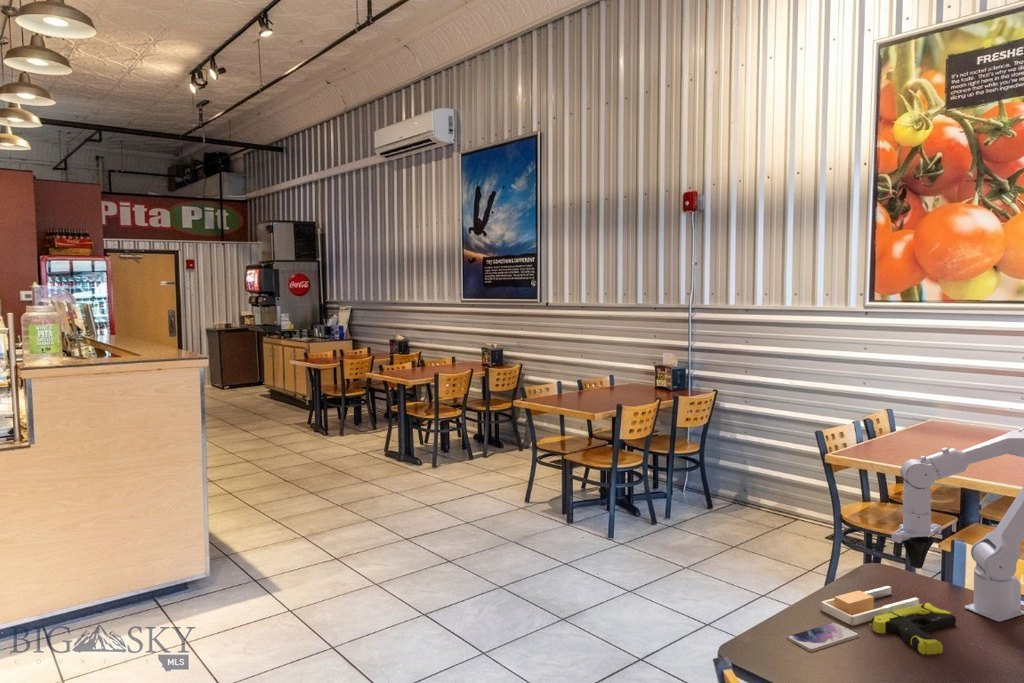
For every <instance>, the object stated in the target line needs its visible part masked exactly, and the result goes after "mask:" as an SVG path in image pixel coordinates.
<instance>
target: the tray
mask: <svg viewBox="0 0 1024 683" xmlns="http://www.w3.org/2000/svg"><path fill="white" fill-rule="evenodd" d="M885 609H886V608H885V607H882V606H881V607H878V608H874V610H870V611H866V612H863V613H859V614H856V615H850V614H848V613H846V612H843V611H841V610H839V609H837V608H835V607H834V598H831V599H830V598H829V599H825V600H823V601H820V611H822V612H825V613H826V614H828V615H830V616H832V617H834V618H836V619H838V620H840V621H842V622H844V623H846V624H848V625H850V626H857V625H860V624H863V623H867V622H872V618H873V617H874V616H878V615H882V614H885Z"/></svg>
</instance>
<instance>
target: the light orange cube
mask: <svg viewBox="0 0 1024 683" xmlns="http://www.w3.org/2000/svg"><path fill="white" fill-rule="evenodd" d="M864 592H865V591H861V590H856V591H851V592H847V593H846V594H849V595H851V596H853V597H856V598H858V599H860V600H861V613H863V612H866V611H870V610H874V609H875V608H874V607H875V599H874V597H873V596H871V595H869V594H866V593H864Z"/></svg>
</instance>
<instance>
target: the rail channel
mask: <svg viewBox="0 0 1024 683" xmlns="http://www.w3.org/2000/svg"><path fill="white" fill-rule="evenodd" d="M863 592H864V593H866V594H869V595H871V596H873V597H874V600H875V599H879V598H883V597H885V596H886V597H887V596H890V595H892V586H889V585H885V586H881V587H879V588H874V589H870V590H865V591H863ZM918 604H920V598H918V597H915V596H914V597H912V598H911V597H910V598H908V599H903V600H900V601H897V602H892V603H890V604H885V605H883V606H881V607H885V608H886V609H885V614H887V613H891V612H893V610H897V609H901V608H906V607H910V606H915V605H918Z"/></svg>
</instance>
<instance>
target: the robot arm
mask: <svg viewBox="0 0 1024 683" xmlns="http://www.w3.org/2000/svg"><path fill="white" fill-rule="evenodd" d="M1004 455H1010V456H1015V457H1021V458H1024V427H1023V428H1020V429H1018V430H1011V431H1008V432H1006V433H1004V434H1001V435H998V436H997V437H994V438H992V439H989V440H987V441H983V442H981V443H979V444H976V445H973V446H971V447H968V448H964V449H963V450H959V449H956V448H954V447H953V448H948V447H947V446H945V447H942V448H941V449H940V451H939V452H936V453H933V454H930V455H927V456H925V455H921V456H919V459H916V458H910V459H908V460H906V461H904V463H903V464H902V465H901V468H900V469H899V473H900V476H901V477H902V479H903V489H902V523H901V524H899V525H898V526H899V528H898V529H897V530H895V531H893V532H891V541H892V542H894V543H897V544H900V543H901V544H902V545H903V547H904V548H905V549H904V550H905V551H906V554H907V556H908V559H909V563H910V564H909V565H910V567H913V568H915V569H922V568H924V564H925V561H926V557H927V554H928V552H929V550H930V549H931V547H932V546H933V545H934V540H935V539H934V538H932V537H930V536H933V535H934V534H938V535H940V534H942V525H941V524H938V523H931V522H932V509H931V508H932V506H931V505H932V493H931V487H932V485H934V483H935V482H936V481H939V480H942V479H945V478H948V477H953V476H954V475H958V474H960V473H964V472H966V471H967V469H968V467H969V465H972V464H976V463H979V462H982V461H986V460H990V459H993V458H998V457H1001V456H1004ZM1023 540H1024V485H1023V486H1022V488H1021V489H1020V491H1019V493H1018V494H1017V495H1016V497H1015V499H1014V500H1013V502H1012V503H1011V505H1010V506H1009V507H1008V509H1007V511H1006V512H1005V514H1004V515H1003V517H1002V518H1001V520H1000V522H999V523H998V524H997V526H996V528H995V529H994V530H992V531H989V532H987V533H985V535H984V536H983V538H981V539H980V540H978V541H976V542H975V543H974V544H972V546H971V549H970V556H971V558H972V559H973V561H974V562H975V563H976V564H975V567H974V569H973V603H970V604H968V605H964V609H966V610H968V611H970V612H971V611H972V612H973V613H975V614H977V615H978V614H979V615H981V616H982V617H983V616H984V617H986V618H988V619H991V620H993V621H995V622H997V623H999V622H1004V621H1007V620H1010V619H1013V618H1015V617H1016V618H1017V617H1018V616H1023V615H1024V610H1022V608H1021V607H1022V606H1021V605H1022V603H1021V602H1022V585H1021V582H1020V580H1019V578H1018V577H1017V576H1016V575H1015V574H1016V572H1017V563H1018V561H1019V559H1020V558H1021V544H1022V542H1023Z"/></svg>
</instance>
